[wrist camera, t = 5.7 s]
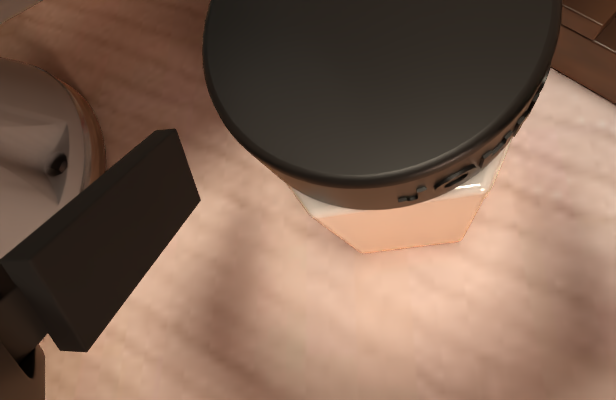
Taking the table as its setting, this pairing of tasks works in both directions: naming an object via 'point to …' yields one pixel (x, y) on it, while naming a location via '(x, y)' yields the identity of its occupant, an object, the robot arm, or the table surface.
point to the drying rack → (588, 45)
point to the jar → (380, 104)
